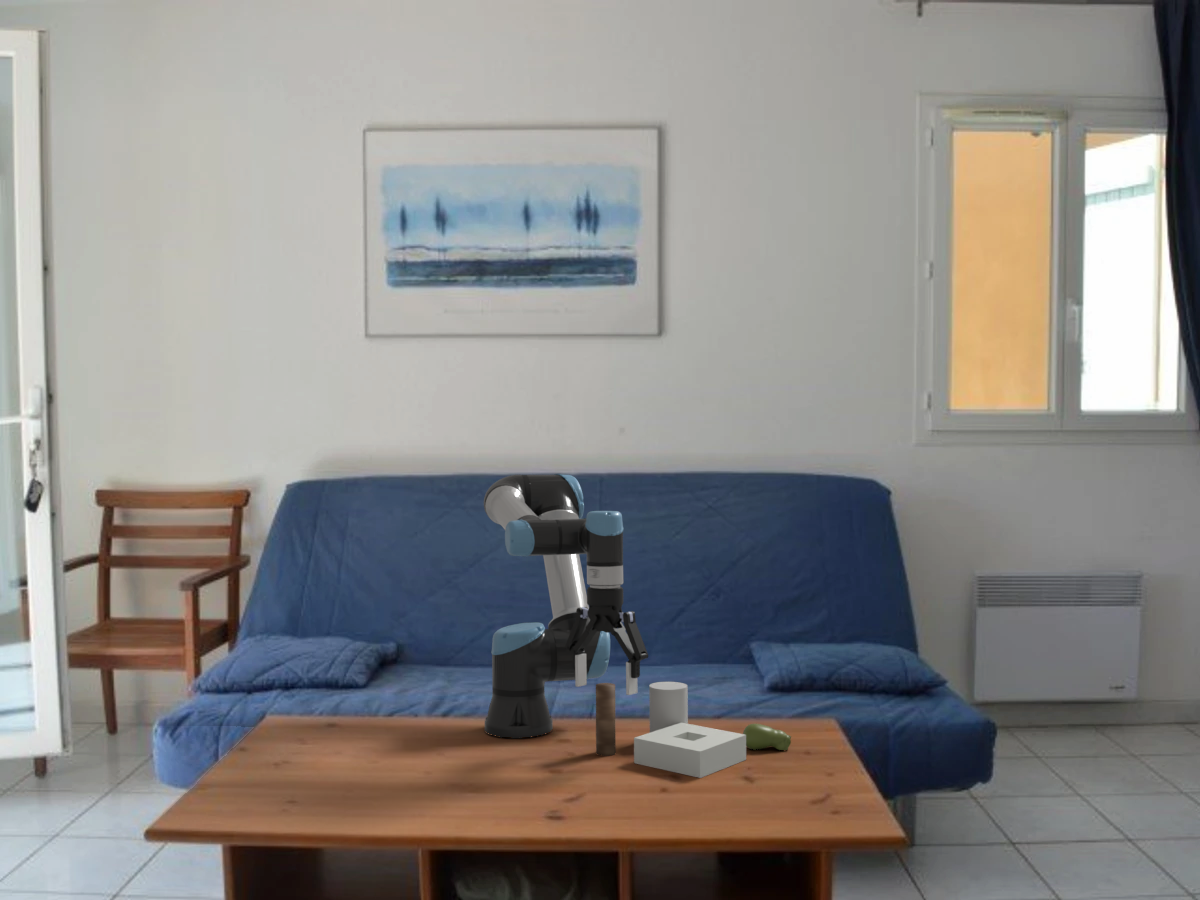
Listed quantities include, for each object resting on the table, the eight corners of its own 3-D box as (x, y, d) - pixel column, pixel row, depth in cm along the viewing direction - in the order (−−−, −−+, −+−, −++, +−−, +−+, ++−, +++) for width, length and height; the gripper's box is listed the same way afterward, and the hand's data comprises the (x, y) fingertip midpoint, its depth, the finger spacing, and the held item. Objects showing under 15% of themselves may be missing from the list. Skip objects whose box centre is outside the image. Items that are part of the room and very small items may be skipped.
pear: (743, 719, 230) (790, 726, 230) (739, 743, 230) (786, 751, 230) (746, 725, 224) (794, 733, 224) (742, 750, 224) (790, 758, 224)
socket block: (634, 763, 217) (633, 737, 217) (681, 746, 229) (681, 722, 229) (700, 778, 207) (700, 751, 207) (746, 759, 219) (746, 734, 219)
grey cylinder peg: (688, 737, 237) (687, 681, 237) (687, 747, 229) (687, 690, 229) (650, 736, 237) (650, 681, 237) (648, 746, 229) (648, 689, 229)
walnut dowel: (592, 753, 224) (591, 685, 224) (604, 749, 227) (604, 682, 227) (607, 756, 222) (606, 687, 222) (619, 752, 225) (619, 684, 225)
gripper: (548, 583, 230) (548, 685, 229) (641, 591, 214) (642, 700, 213) (571, 580, 235) (572, 679, 235) (664, 588, 219) (665, 694, 219)
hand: (606, 689), depth 224 cm, fingers open, 13 cm apart
